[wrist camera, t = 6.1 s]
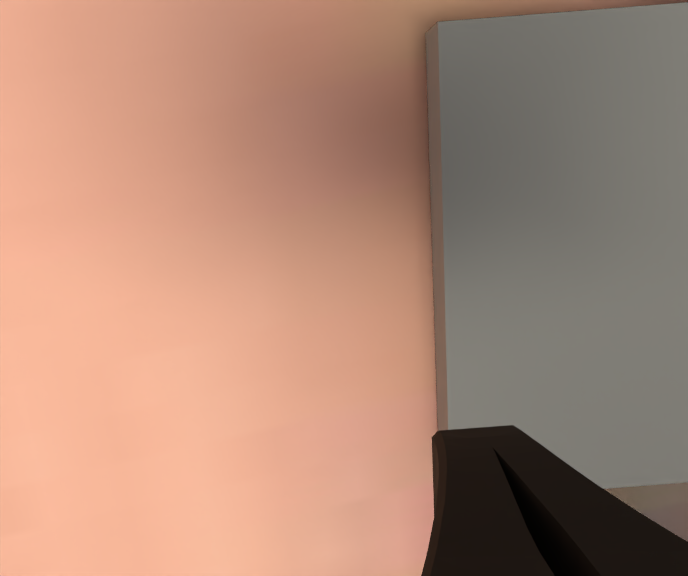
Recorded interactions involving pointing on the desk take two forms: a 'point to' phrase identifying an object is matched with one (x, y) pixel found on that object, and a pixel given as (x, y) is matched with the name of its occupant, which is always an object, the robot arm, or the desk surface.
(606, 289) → the slate plate
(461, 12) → the desk surface
